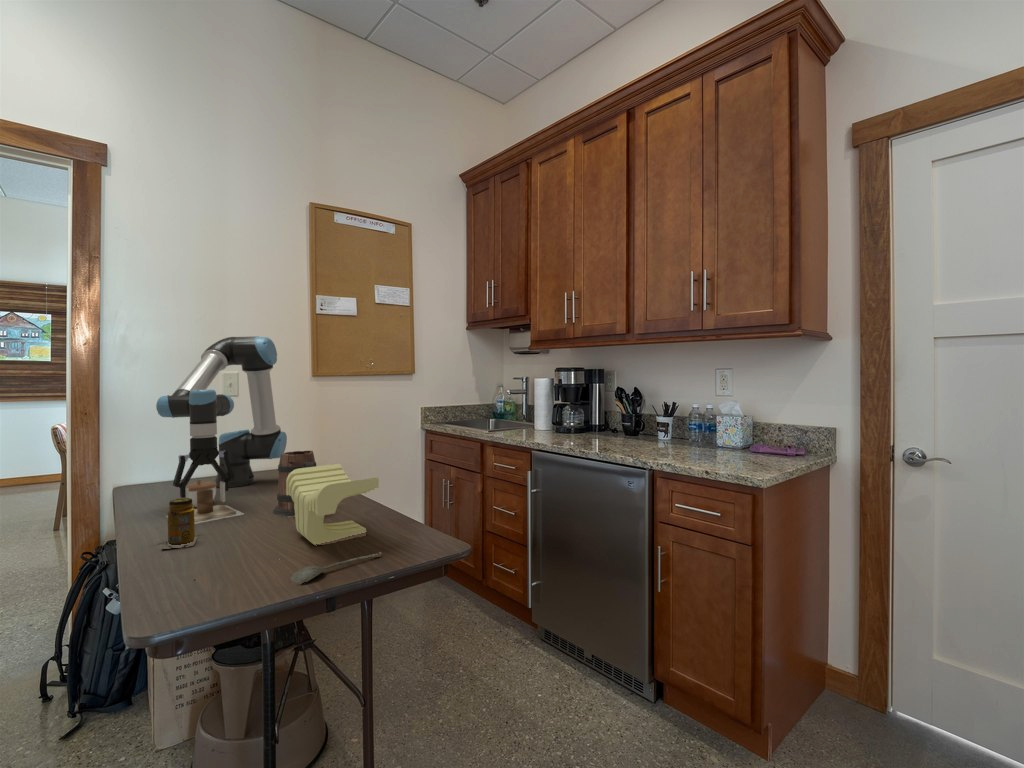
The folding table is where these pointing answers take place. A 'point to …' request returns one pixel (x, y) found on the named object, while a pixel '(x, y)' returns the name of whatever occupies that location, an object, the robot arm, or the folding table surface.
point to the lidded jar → (200, 486)
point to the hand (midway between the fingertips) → (205, 504)
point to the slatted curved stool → (324, 501)
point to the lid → (209, 507)
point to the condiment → (181, 521)
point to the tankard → (285, 467)
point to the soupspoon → (318, 570)
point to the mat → (221, 517)
